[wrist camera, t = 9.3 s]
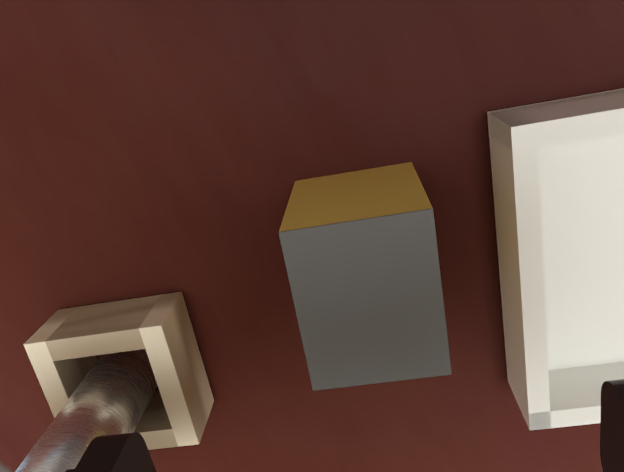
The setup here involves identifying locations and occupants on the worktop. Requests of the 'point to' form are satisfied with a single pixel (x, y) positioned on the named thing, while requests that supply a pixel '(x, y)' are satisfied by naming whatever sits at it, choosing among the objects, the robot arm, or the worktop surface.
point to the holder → (127, 337)
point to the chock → (366, 277)
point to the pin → (95, 411)
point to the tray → (561, 252)
